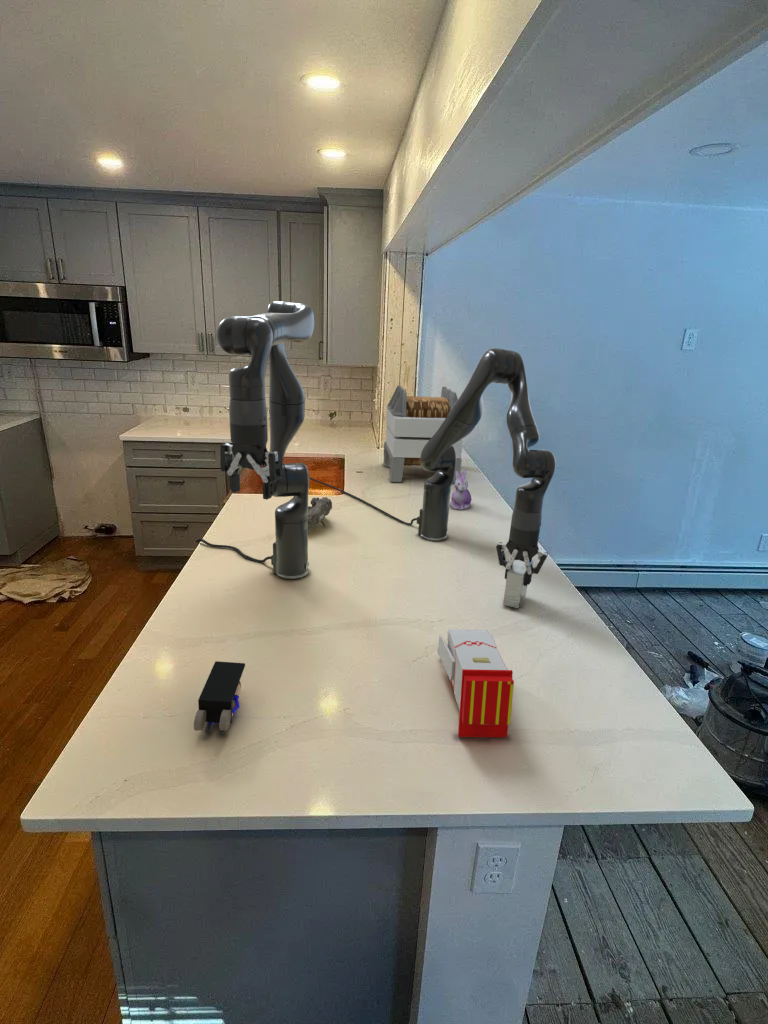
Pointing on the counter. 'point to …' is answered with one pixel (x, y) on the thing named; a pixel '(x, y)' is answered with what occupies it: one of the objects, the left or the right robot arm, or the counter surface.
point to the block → (515, 585)
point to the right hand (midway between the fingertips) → (517, 582)
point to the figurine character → (219, 696)
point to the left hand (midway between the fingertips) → (251, 495)
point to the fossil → (318, 511)
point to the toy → (478, 682)
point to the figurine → (461, 492)
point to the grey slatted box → (414, 429)
